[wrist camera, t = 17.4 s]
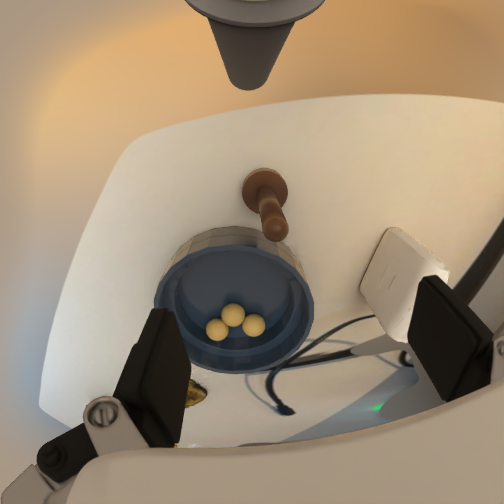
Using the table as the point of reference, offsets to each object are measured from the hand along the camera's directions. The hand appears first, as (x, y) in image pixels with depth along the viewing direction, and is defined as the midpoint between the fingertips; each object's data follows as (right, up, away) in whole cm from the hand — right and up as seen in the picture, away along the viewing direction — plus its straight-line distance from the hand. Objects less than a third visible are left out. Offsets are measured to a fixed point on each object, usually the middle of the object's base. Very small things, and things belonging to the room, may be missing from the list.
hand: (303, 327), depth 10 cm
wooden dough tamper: (-1, +10, +22) cm, 24 cm away
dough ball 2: (-4, -5, +26) cm, 27 cm away
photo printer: (+16, +2, +26) cm, 31 cm away
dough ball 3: (-2, -7, +27) cm, 28 cm away
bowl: (-4, -2, +28) cm, 28 cm away
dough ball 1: (-6, -7, +27) cm, 29 cm away
